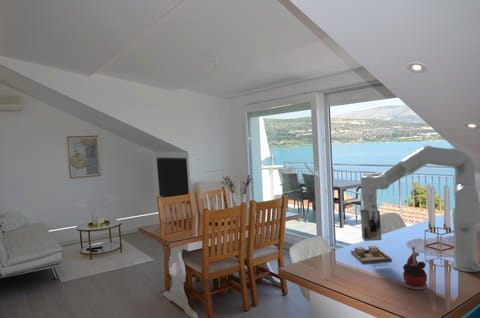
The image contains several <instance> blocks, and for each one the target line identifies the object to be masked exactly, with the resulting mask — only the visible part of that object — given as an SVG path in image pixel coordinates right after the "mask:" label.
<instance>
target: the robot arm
mask: <svg viewBox="0 0 480 318" xmlns="http://www.w3.org/2000/svg"><path fill="white" fill-rule="evenodd" d="M429 164H430V165H435V166H443V167H450V168H451V167H453V169H454V190H453V195H454V208H453V209H452V225H453V243H454V245H453V246H454V260H455V261H453V262H452V263H451V267H452V269H455V270H456V271H461V272H467V273H477V272H480V264H479V261H478V247H477V246H478V243H477V226H476V225H477V224H478V221H479V209H480V208H479V206H480V205H479V203H480V197H479V192H478V191H477V189H476V168H475V163H474V161H473V160H472V158H471V157H470V155H469V154H467V153H466V152H465V151H463V150H461V149H458V148H455V147H452V148H446V147H445V148H443V147H435V146H432V145H424V146H422V147H421V148H419V149H417V150H416V151H415V152H412V153H411V154H410V155H408V156H406V157H404V158H403V159H402V160H400V161H399V162H398V163H396V164H395V165H393V166H391V167H390V168H388V169H387V170H385V171H384V172H382V173H381V174H379V175H378V176H375V175H372V174H371V175H370V174H369V175H367V174H366V175H363V176H361V178H360V182H361V184H360V185H361V201H362V203H363V208H362V210H365V211H367V212H368V217H369V219H370V222H371V225H370V228H371V232H377V219H378V211H379V209H378V203H377V199H378V198H377V195H378V194H377V190H383V191H384V190H386V189H387V190H388V188H390V186H391V185H393V184H394V183H396V182H397V181H399V180H401V179H402V178H404V177H407V176H411V175H412V174H414V173H415V172H417V171H419V170H420V169H422V168H423V167H425V166H428V165H429ZM372 217H373V218H374V219H371V218H372ZM372 220H373V222H372Z"/></svg>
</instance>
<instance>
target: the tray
mask: <svg viewBox="0 0 480 318" xmlns="http://www.w3.org/2000/svg"><path fill="white" fill-rule="evenodd" d="M378 252H379V254H377V255H371V254H370V253H369V248H368V249H365V255H363V256H358V255H357V254H356V253H355V250H351V251H350V254H351V255H352V256H353V257H354V258H355V259H356V260H358V261H359V262H360V264H373V263H374V264H375V263H385V262H386V263H387V262H389V263H390V262H392V261H393V259H392V258H391V257H390V256H389V255H387V254H386V253H385V252H383V251H382V250H381V249H380V248H378Z"/></svg>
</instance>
